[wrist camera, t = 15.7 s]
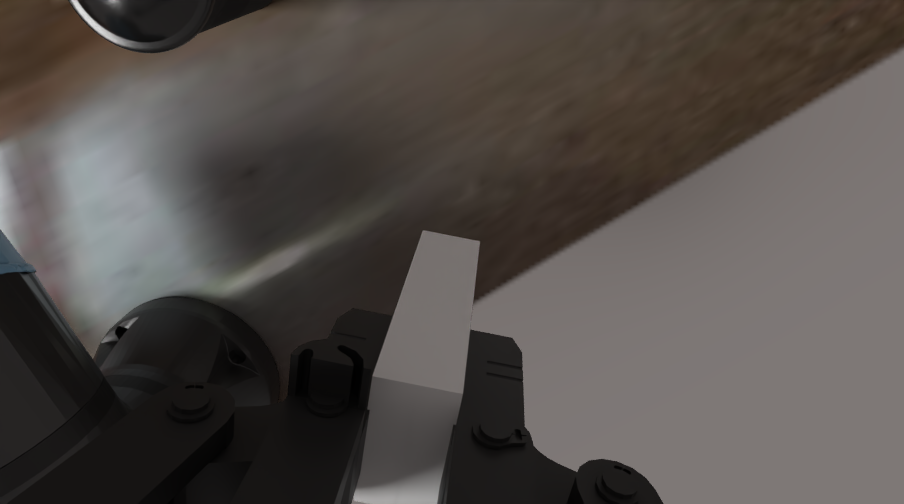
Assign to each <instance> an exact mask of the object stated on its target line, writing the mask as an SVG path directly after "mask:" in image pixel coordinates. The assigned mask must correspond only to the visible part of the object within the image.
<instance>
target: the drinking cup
mask: <svg viewBox="0 0 904 504" xmlns="http://www.w3.org/2000/svg"><path fill="white" fill-rule="evenodd" d="M68 1H69V2H70V4H71V6H72V7H73V9H74V10H75V11H76V13H77V14H78V15H79V16H80V18H81V19H82V20H83V21H84V22H85V23H86V24H87V25H88V26H89V27H90V28H91V29H92V30H93V31H95V32H96V33H97V34H99V35H100V36H101V37H103V38H104V39H106V40H107V41H109V42H111V43H113V44H115V45H117V46H119V47H122V48H124V49H127V50H130V51H135V52H140V53H159V52H165V51H169V50H173V49H175V48H178V47H180V46H182V45H184V44H186V43H187V42H189V41H190V40H191V39H193V38H194V37H195V36H196V35H197V34H198V33H201V32H203V31H206V30H208V29H211V28H214V27H216V26H219V25H221V24H224V23H226V22H229V21H231V20H234V19H236V18H239V17H241V16H244V15H246V14H249V13H252V12H254V11H257V10H259V9H261V8H264V7H265V6H267V5H268V4H269V3H270V2H272V0H68Z"/></svg>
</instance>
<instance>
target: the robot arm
mask: <svg viewBox="0 0 904 504" xmlns="http://www.w3.org/2000/svg"><path fill="white" fill-rule="evenodd" d="M479 246H480V241H476V240H471V239H466V238H461V237H455V236H450V235H445V234H440V233H435V232H430V231H425V230H423V231H422V234H421V237H420V240H419V243H418V246H417V249H416V251H415V254H414V257H413V260H412V263H411V266H410V269H409V272H408V275H407V277H406V280H405V283H404V286H403V289H402V292H401V295H400V298H399V301H398V303H397V306H396V309H395V312H394V315H393V316H390V315H385V314H380V313H375V312H369V311H364V310H359V309H354V308H353V309H351V310H350V311H348V312H347V313H345V314H344V315H342V316H341V317H339V318H338V319H337V321H336V323H335V325H334V327H333V329H332V331H331V334H330V335H329V337H328V339H324V340H316V341H310V342H308V343H306V344H303V345H301V346H299V347H298V348H297V349H296V350H295V351H294V352H293V353H292V354H291V362H290V374H289V385H288V395H287V397H286V399H285V401H283V402H279V403H278V398H279V390H280V385H279V376H278V371H277V368H276V365H275V362H274V360H273V357H272V355H271V353H270V352H269V350H268V348H267V347H266V345H265V344H264V342H263V341H262V340H261V338H260V337H259V336H258V335H257V334H256V333H255V332H254V331H253V330H252V329H251V328H250V327H249V326H248V325H247V324H246V323H244V322H243V321H242V320H240V319H239V318H238V317H236V316H235V315H233V314H231V313H230V312H228V311H226V310H224V309H222V308H220V307H218V306H215V305H213V304H210V303H207V302H204V301H200V300H195V299H190V298H177V297H173V298H162V299H156V300H153V301H149V302H146V303H144V304H142V305H140V306H138V307H136V308H134V309H133V310H131V311H130V312H129V313H128V314H126V315H125V316H124V317H123V318H122V319H121V320H120V321H118V322H117V323H116V324H115V325H114V326H113V327H112V328H111V329H110V330H109V331H108V333H107V334H106V335H105V336H104V338H103V339H102V341H101V343H100V345H99V347H98V349H97V351H96V354H95V356H94V358H93V359H92V357H91V356H90V355H89V353H88V352H87V350H86V349H85V347H84V346H83V344H82V343H81V342H80V340H79V339H78V337H77V336H76V334H75V333H74V332H73V330H72V329H71V327H70V326H69V324H68V323H67V321H66V320H65V318H64V317H63V315H62V314H61V312H60V311H59V309H58V308H57V306H56V305H55V303H54V302H53V300H52V299H51V297H50V296H49V294H48V293H47V291H46V290H45V288H44V287H43V285H42V284H41V282H40V281H39V279H38V278H37V276H36V275H35V272H36V270H35V268H34V267H33V266H32V265H31V264H28V263H26V262H25V260H24V259H23V258H22V257H21V255H20V254H19V253H18V252H17V251H16V249H15V248H14V247H13V245H12V244H11V243H10V241H9V240H8V239H7V237H6V236H5V235H4V234H3V232H2V231H1V230H0V504H351V503H352V499H353V496H354V501H358V502H363V503H368V504H663V502H662V500H661V499H660V497H659V495H658V494H657V492H656V490H655V489H654V488H653V486H652V485H651V484H650V483H649V481H648V480H647V479H646V478H645V477H644V476H642V475H641V474H640V473H638V472H637V471H636V470H634V469H633V468H631V467H629V466H626V465H624V464H622V463H619V462H617V461H611V460H605V459H598V460H591V461H588V462H586V463H585V464H583V465H582V466H580V468H579V470H578V472H576V471H573V470H571V469H569V468H567V467H564V466H562V465H560V464H558V463H556V462H554V461H552V460H550V459H548V458H547V457H546V456H544V455H543V454H542V453H540V452H539V451H538V450H537V449H536V448H535V447H534V446H533V441H532V438H531V435H530V433H529V431H527V429H526V428H525V427H524V426H525V424H524V396H523V382H522V381H523V371H522V352H521V350H520V349H519V347H518V346H517V344H516V343H515V341H514V340H513V339H512V338H509V337H504V336H500V335H494V334H490V333H484V332H479V331H474V330H470V326H471V317H472V308H473V299H474V290H475V281H476V272H477V263H478V255H479ZM354 493H355V495H354Z"/></svg>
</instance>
